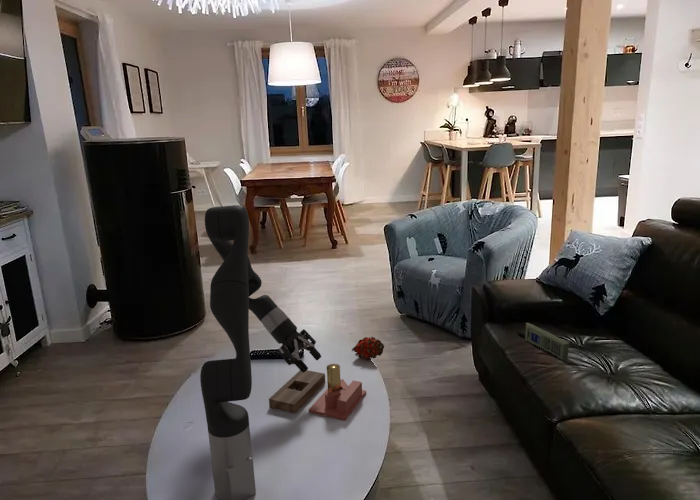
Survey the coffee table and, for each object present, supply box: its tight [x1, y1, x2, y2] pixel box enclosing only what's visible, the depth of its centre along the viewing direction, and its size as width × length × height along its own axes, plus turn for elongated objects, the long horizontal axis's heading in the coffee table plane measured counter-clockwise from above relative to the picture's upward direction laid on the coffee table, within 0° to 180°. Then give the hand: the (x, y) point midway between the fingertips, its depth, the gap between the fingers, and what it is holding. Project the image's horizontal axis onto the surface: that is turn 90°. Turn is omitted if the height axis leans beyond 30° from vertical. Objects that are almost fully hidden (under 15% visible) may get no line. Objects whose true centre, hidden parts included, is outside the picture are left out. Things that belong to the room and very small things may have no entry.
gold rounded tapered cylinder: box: [326, 363, 341, 393], centre depth 152 cm, size 4×4×11 cm
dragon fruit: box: [351, 336, 385, 361], centre depth 181 cm, size 8×8×12 cm
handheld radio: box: [515, 322, 570, 361], centre depth 186 cm, size 7×3×25 cm
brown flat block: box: [268, 369, 326, 414], centre depth 159 cm, size 9×20×3 cm, turn 156°
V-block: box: [308, 378, 367, 422], centre depth 153 cm, size 12×16×5 cm
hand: (312, 364), depth 154 cm, fingers open, 8 cm apart
